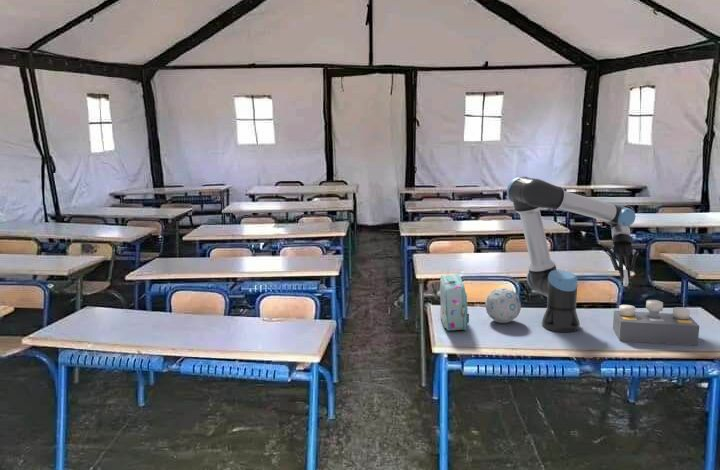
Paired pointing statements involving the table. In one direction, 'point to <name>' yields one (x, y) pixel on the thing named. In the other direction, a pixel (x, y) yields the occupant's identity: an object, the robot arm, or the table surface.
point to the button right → (681, 313)
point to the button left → (627, 310)
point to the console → (656, 329)
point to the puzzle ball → (503, 305)
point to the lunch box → (453, 303)
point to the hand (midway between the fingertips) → (626, 284)
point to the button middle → (654, 308)
